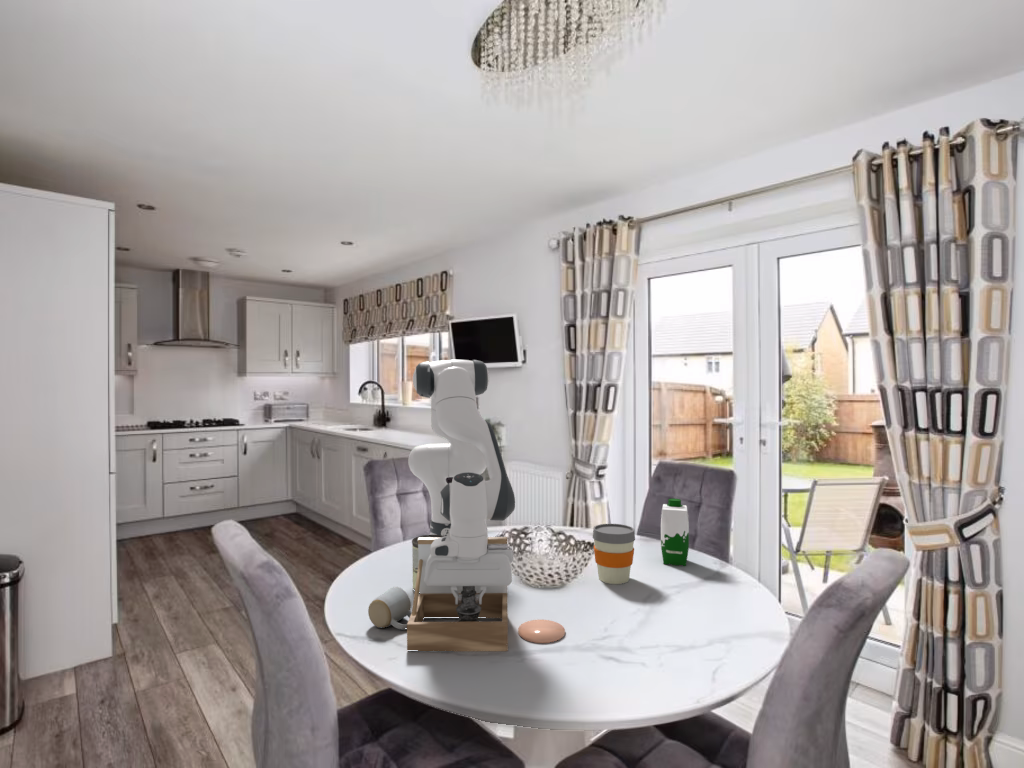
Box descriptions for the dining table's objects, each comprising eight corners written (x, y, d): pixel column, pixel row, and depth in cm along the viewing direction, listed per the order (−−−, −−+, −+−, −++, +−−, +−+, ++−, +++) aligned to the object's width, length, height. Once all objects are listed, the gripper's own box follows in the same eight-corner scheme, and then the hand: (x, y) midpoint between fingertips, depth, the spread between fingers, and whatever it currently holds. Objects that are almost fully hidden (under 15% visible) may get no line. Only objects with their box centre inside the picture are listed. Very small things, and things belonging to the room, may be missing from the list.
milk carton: (688, 558, 183) (688, 498, 183) (689, 567, 174) (688, 504, 174) (661, 556, 186) (661, 497, 185) (660, 565, 177) (660, 503, 177)
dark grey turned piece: (468, 615, 132) (468, 566, 132) (486, 622, 128) (486, 572, 128) (450, 624, 127) (450, 573, 127) (468, 632, 124) (468, 579, 123)
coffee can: (417, 581, 163) (417, 533, 163) (451, 582, 162) (451, 534, 162) (407, 594, 152) (407, 544, 152) (443, 596, 151) (443, 545, 151)
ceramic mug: (365, 626, 132) (365, 595, 132) (387, 613, 140) (387, 583, 140) (401, 636, 128) (401, 603, 128) (421, 622, 135) (422, 591, 135)
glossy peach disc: (517, 622, 135) (517, 619, 135) (562, 621, 135) (562, 619, 135) (518, 643, 124) (518, 640, 124) (567, 643, 124) (567, 640, 124)
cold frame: (419, 616, 138) (419, 592, 138) (507, 616, 138) (507, 592, 138) (407, 651, 120) (407, 624, 120) (507, 651, 120) (507, 623, 120)
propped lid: (420, 594, 138) (420, 534, 138) (507, 593, 139) (507, 534, 139) (410, 617, 125) (410, 551, 124) (507, 617, 125) (507, 551, 125)
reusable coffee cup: (639, 586, 158) (639, 534, 158) (595, 586, 158) (595, 534, 158) (630, 571, 171) (630, 523, 171) (590, 571, 171) (590, 523, 171)
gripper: (513, 540, 131) (513, 597, 131) (427, 540, 130) (427, 598, 131) (513, 548, 124) (513, 609, 125) (423, 548, 124) (423, 609, 124)
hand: (468, 603), depth 128 cm, fingers closed on dark grey turned piece, 3 cm apart
